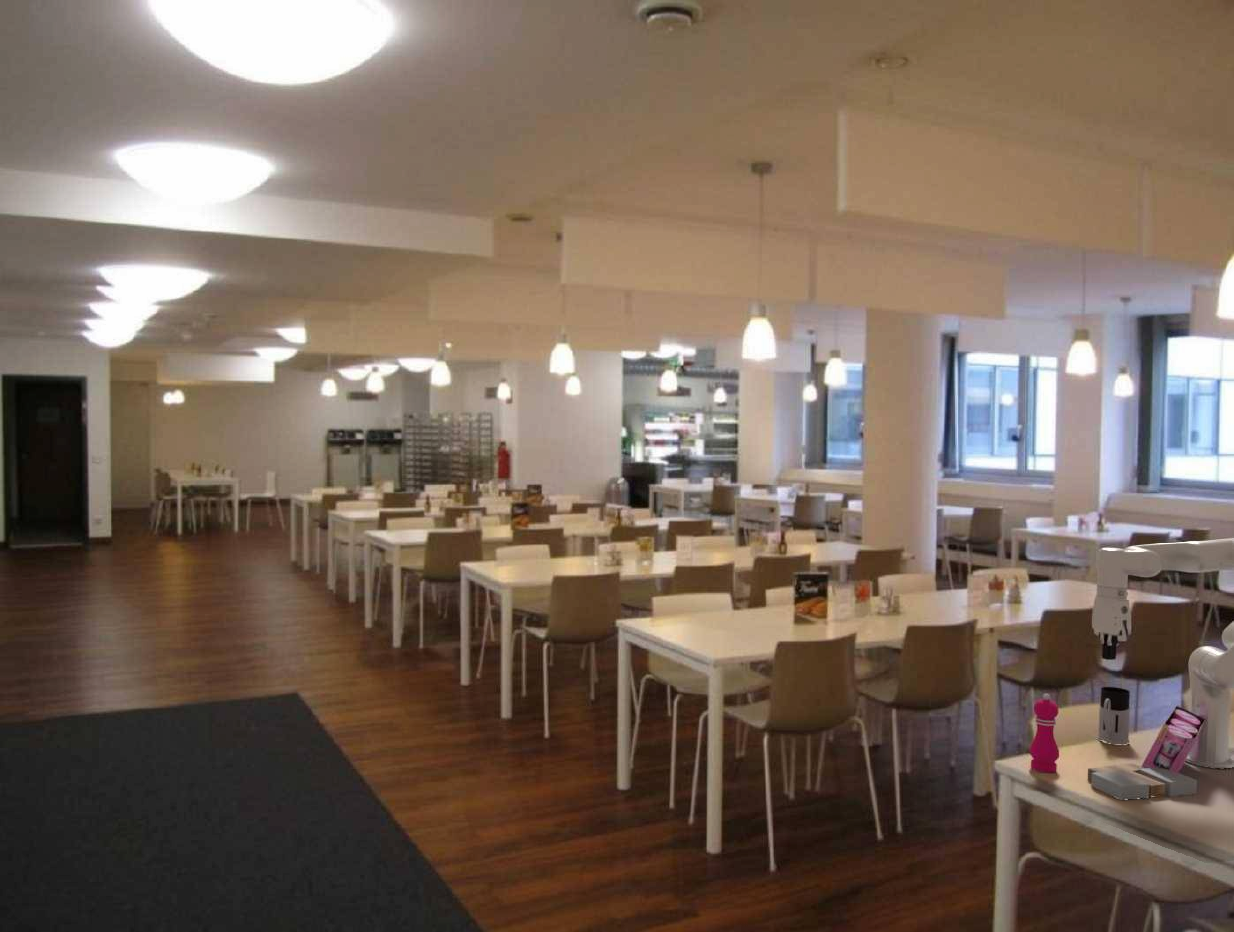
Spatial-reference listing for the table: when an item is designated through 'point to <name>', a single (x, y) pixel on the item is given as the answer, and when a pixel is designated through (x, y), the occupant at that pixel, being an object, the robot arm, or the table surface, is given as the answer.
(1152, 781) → the t block
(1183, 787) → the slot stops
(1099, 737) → the white and black cylinder
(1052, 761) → the pepper mill
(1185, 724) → the gum box
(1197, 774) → the table surface
